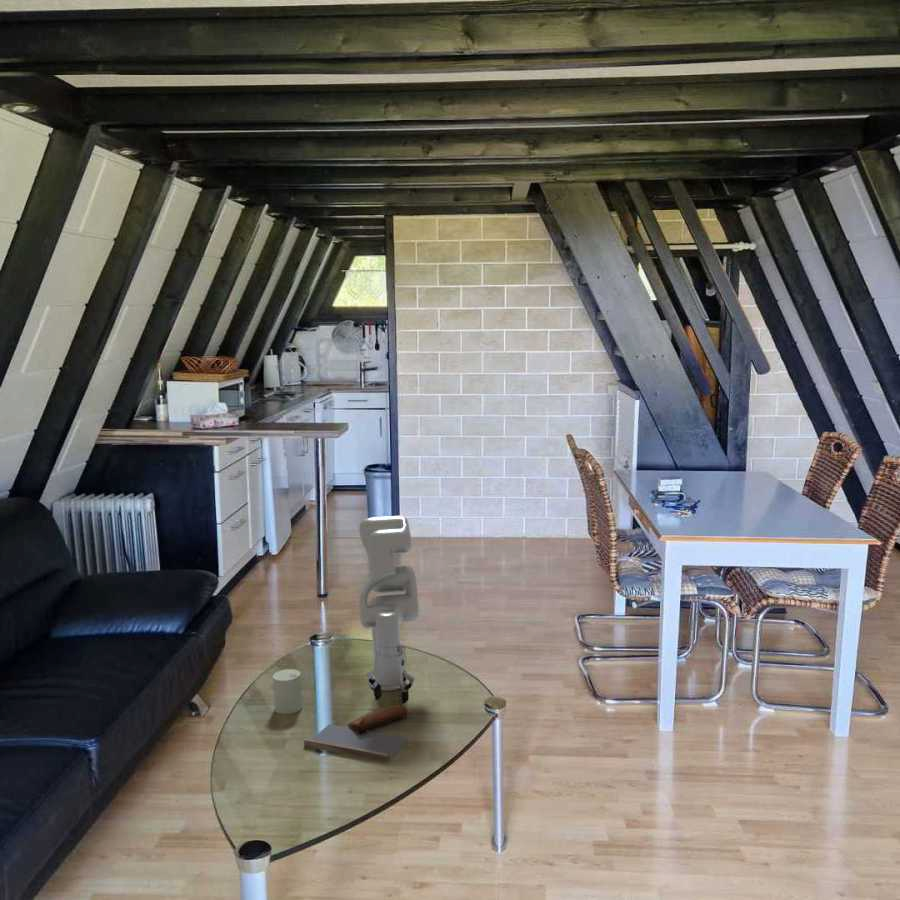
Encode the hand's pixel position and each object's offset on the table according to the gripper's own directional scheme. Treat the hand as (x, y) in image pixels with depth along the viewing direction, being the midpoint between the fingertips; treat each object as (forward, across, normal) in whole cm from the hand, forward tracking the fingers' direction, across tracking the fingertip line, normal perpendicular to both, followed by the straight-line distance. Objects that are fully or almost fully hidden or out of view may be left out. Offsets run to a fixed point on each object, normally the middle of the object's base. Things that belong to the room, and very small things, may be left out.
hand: (391, 700), depth 267 cm
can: (+3, +34, +9) cm, 35 cm away
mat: (+4, +1, +22) cm, 22 cm away
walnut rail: (+4, +1, +29) cm, 29 cm away
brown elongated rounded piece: (+4, +1, +9) cm, 10 cm away
